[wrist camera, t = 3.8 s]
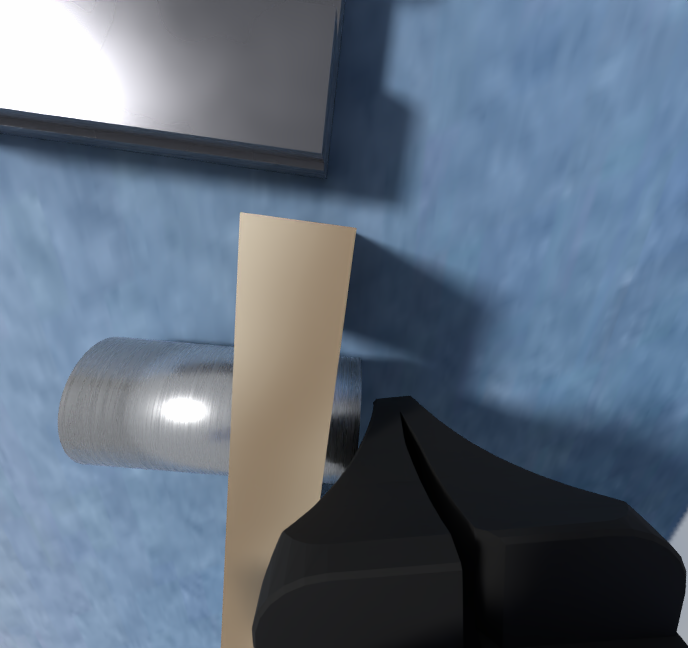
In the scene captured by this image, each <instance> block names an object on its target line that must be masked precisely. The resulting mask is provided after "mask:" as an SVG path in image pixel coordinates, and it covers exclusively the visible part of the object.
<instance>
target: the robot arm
mask: <svg viewBox="0 0 688 648" xmlns="http://www.w3.org/2000/svg"><path fill="white" fill-rule="evenodd" d="M373 405H374V406H373V413H372V417H371V420H370V423H369V426H368V428H367V431H366V434H365V436H364V438H363V440H362V442H361V444H360V446H359V448H358V450H357V452H356V454H355V455H354V457H353V459H352V460H351V462H350V464H349V465H348V467H347V468H346V469H345V471H344V472H343V474H342V475H341V476H340V478H339V479H338V480H337V481H336V483H335V484H334V485H333V486H332V488H331V489H330V490H329V491H328V492H327V493H326V494H325V495H324V496H323V497H322V498H321V499H320V500H319V501H318V502H317V503H316V504H315V505H314V506H313V507H312V508H311V509H310V510H309V511H308V512H306V513H305V514H304V515H303V516H301V517H300V518H299V519H298V520H297V521H295V522H294V523H293V524H292V525H290V526H289V527H288V528H286V529H285V530H284V531H283V532H282V533H281V535H280V537H279V539H278V542H277V544H276V547H275V549H274V551H273V554H272V557H271V559H270V562H269V565H268V567H267V570H266V573H265V576H264V579H263V582H262V586H261V590H260V594H259V598H258V603H257V607H256V612H255V616H254V621H253V625H252V640H253V647H254V648H688V645H687V644H686V643H685V642H684V641H683V639H682V638H681V637H680V636H679V635H678V633H677V632H676V631H677V627H678V623H679V618H680V614H681V609H682V605H683V601H684V596H685V588H686V569H685V567H684V564H683V561H682V558H681V556H680V555H679V554H678V553H677V551H676V550H675V549H674V548H673V547H672V546H671V545H670V543H669V542H667V541H666V540H665V539H664V538H663V537H662V536H661V535H660V534H659V533H658V532H657V531H656V530H655V529H654V528H653V527H652V526H651V525H650V524H649V523H648V522H647V521H646V520H645V519H643V518H642V517H641V516H640V515H639V514H638V513H637V512H636V511H635V510H634V509H633V508H632V507H630V506H629V505H628V504H627V503H626V502H624V501H621V500H617V499H614V498H610V497H607V496H603V495H600V494H596V493H593V492H589V491H585V490H582V489H578V488H575V487H572V486H569V485H566V484H563V483H560V482H557V481H554V480H552V479H549V478H546V477H543V476H540V475H538V474H535V473H533V472H530V471H528V470H525V469H523V468H521V467H519V466H516V465H514V464H512V463H510V462H507V461H505V460H503V459H501V458H499V457H497V456H495V455H493V454H491V453H489V452H487V451H486V450H484V449H482V448H480V447H478V446H477V445H475V444H473V443H471V442H470V441H468V440H466V439H465V438H463V437H462V436H460V435H459V434H457V433H456V432H454V431H453V430H452V429H450V428H449V427H447V426H446V425H445V424H443V423H442V422H441V421H439V420H438V419H437V418H436V417H434V416H433V415H432V414H431V413H430V412H428V411H427V410H426V409H425V408H424V407H423V406H421V405H420V404H419V403H418V402H417V401H416V400H415V399H413V398H412V397H411V396H403V397H392V398H382V399H376V400H375V401H374V402H373Z"/></svg>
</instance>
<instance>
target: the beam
mask: <svg viewBox="0 0 688 648" xmlns="http://www.w3.org/2000/svg"><path fill="white" fill-rule="evenodd" d="M355 235H356V228H352V227H345V226H338V225H330V224H323V223H316V222H308V221H301V220H293V219H286V218H279V217H271V216H264V215H257V214H249V213H242V212H240V226H239V249H238V272H237V295H236V317H235V340H234V363H233V385H232V408H231V431H230V454H229V476H228V499H227V522H226V545H225V567H224V590H223V613H222V636H221V648H254V647H253V640H252V625H253V621H254V616H255V612H256V607H257V603H258V598H259V594H260V590H261V586H262V582H263V579H264V576H265V573H266V570H267V567H268V565H269V562H270V559H271V557H272V554H273V551H274V549H275V547H276V544H277V542H278V539H279V537H280V535H281V533H282V532H283V531H284V530H285V529H286V528H288V527H289V526H290V525H292V524H293V523H294V522H295V521H297V520H298V519H299V518H300V517H301V516H303V515H304V514H305V513H306V512H308V511H309V510H310V509H311V508H312V507H313V506H314V505H315V504H316V503H317V502H318V501H319V500H320V495H321V488H322V481H323V473H324V466H325V458H326V451H327V443H328V436H329V429H330V421H331V414H332V406H333V399H334V391H335V384H336V376H337V369H338V362H339V354H340V347H341V339H342V332H343V324H344V317H345V310H346V302H347V295H348V287H349V280H350V272H351V265H352V258H353V250H354V243H355Z"/></svg>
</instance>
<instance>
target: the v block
mask: <svg viewBox="0 0 688 648" xmlns="http://www.w3.org/2000/svg"><path fill="white" fill-rule="evenodd" d="M344 10H345V0H0V133H2V134H9V135H17V136H24V137H31V138H38V139H45V140H52V141H59V142H67V143H74V144H81V145H88V146H95V147H102V148H109V149H117V150H124V151H131V152H138V153H145V154H152V155H159V156H167V157H174V158H181V159H188V160H195V161H202V162H209V163H217V164H224V165H231V166H238V167H245V168H252V169H259V170H267V171H274V172H281V173H288V174H295V175H302V176H309V177H316V178H324V179H326V178H327V168H328V159H329V150H330V140H331V131H332V122H333V112H334V103H335V94H336V84H337V75H338V66H339V56H340V47H341V38H342V28H343V19H344Z"/></svg>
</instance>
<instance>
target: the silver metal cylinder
mask: <svg viewBox="0 0 688 648" xmlns="http://www.w3.org/2000/svg"><path fill="white" fill-rule="evenodd" d="M233 363H234V347H229V346H218V345H207V344H195V343H184V342H172V341H161V340H150V339H138V338H127V337H110V338H107V339H104V340H102V341H100V342H98V343H97V344H96V345H94V346H93V347H92V348H90V349H89V350H88V351H87V352H86V353H85V354H84V355H83V357H82V358H81V359H80V360H79V362H78V363H77V364H76V366H75V367H74V369H73V371H72V373H71V374H70V376H69V379H68V381H67V383H66V385H65V388H64V391H63V394H62V398H61V401H60V406H59V413H58V432H59V438H60V442H61V444H62V447H63V449H64V451H65V453H66V454H67V455H68V456H69V457H70V458H71V459H72V460H73V461H75V462H77V463H80V464H86V465H99V466H111V467H124V468H137V469H150V470H162V471H175V472H188V473H201V474H213V475H226V476H229V454H230V431H231V408H232V385H233ZM361 386H362V373H361V360H360V358H355V357H343V356H339V362H338V369H337V376H336V384H335V391H334V399H333V406H332V414H331V421H330V429H329V436H328V443H327V451H326V458H325V466H324V473H323V481H322V483H328V484H335V483H336V481H337V480H338V479H339V478H340V476H341V475H342V474H343V472H344V471H345V469H346V468H347V467H348V465H349V464H350V462H351V460H352V459H353V457H354V455H355V454H356V452H357V450H358V440H359V428H360V412H361Z"/></svg>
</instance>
